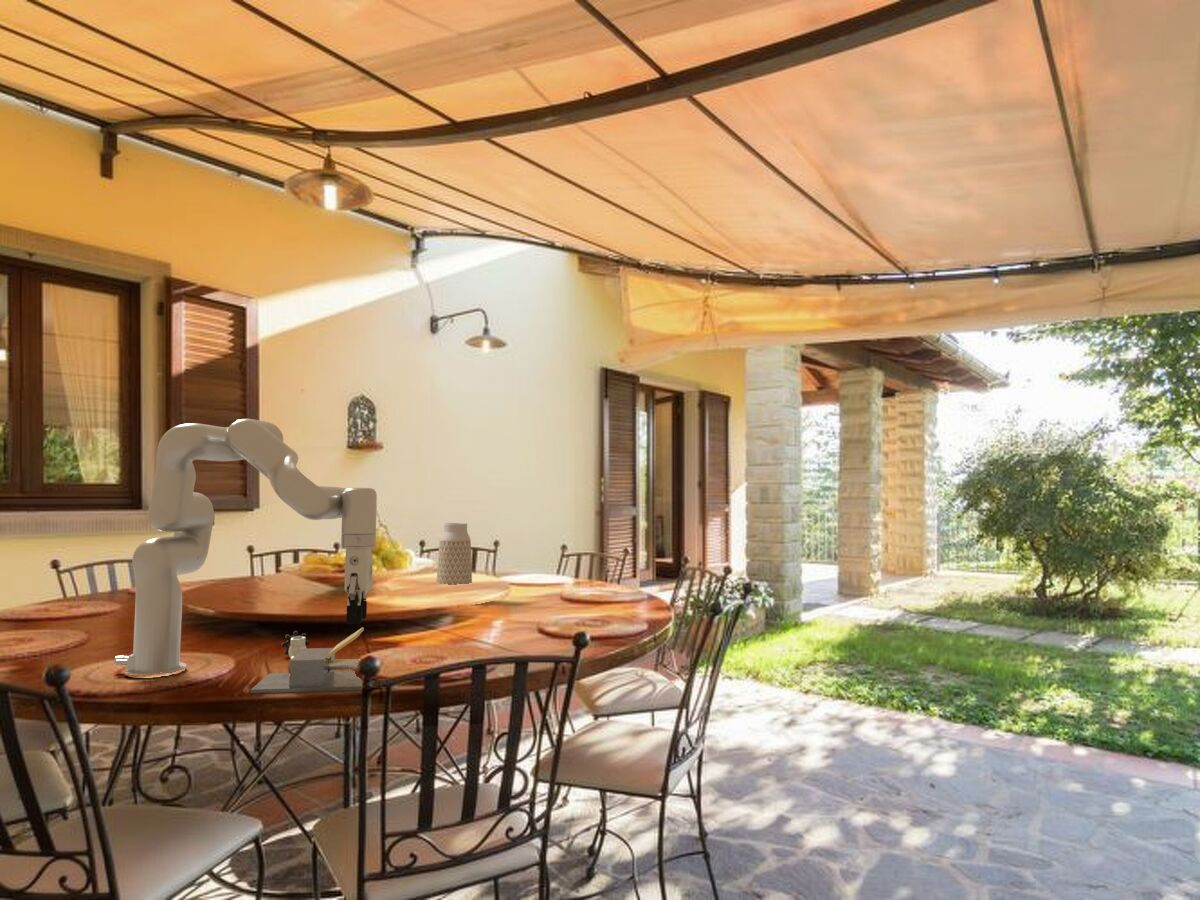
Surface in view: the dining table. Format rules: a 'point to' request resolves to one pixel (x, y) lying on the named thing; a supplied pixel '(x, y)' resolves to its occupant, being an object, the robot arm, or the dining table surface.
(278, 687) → the grey base plate
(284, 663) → the dining table surface
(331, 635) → the dining table surface
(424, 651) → the dining table surface
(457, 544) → the vase
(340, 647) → the keeper flap
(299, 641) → the valve
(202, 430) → the robot arm
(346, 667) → the pin
